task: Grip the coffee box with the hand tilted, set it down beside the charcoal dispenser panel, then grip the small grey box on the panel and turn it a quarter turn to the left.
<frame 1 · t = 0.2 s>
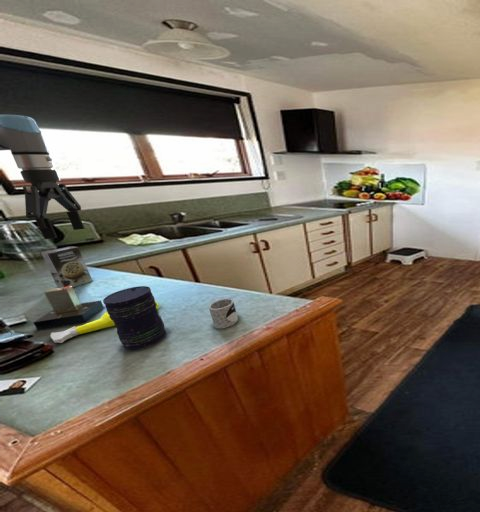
hand: (66, 233, 94), 27 cm above the counter, tool pointing down, fingers open, 13 cm apart
small grey box: (63, 299, 89), point 7 cm above the counter, hinge at 0.0°
mug: (228, 319, 87), on the counter
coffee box: (76, 284, 118), on the counter
dispenser panel: (73, 318, 91), on the counter
yellow flared piece: (110, 322, 88), on the counter
storage jar: (146, 340, 79), on the counter
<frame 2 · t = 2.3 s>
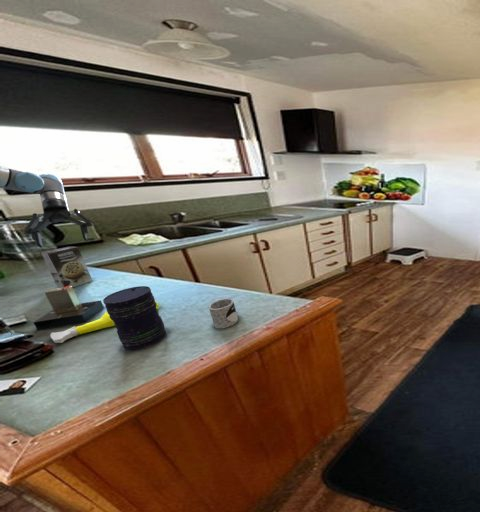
hand: (63, 242, 119), 17 cm above the counter, tool tilted 45°, fingers open, 13 cm apart
nothing on the counter moved.
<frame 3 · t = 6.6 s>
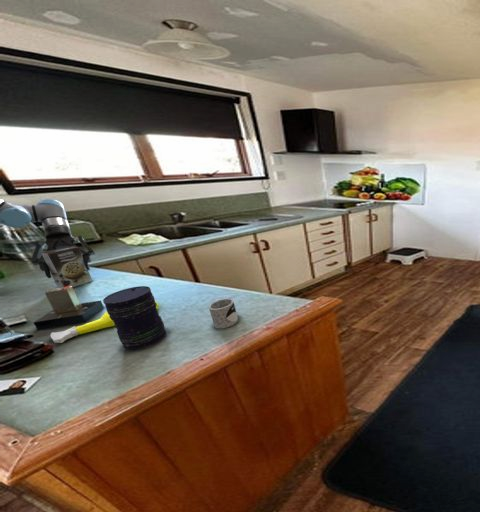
hand: (68, 272, 114), 7 cm above the counter, tool tilted 45°, fingers closed on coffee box, 10 cm apart
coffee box: (76, 284, 118), on the counter, touching gripper
everything else where it was.
when the fingers open (7 cm above the counter, at t = 16.2 s): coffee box stays where it is, on the counter.
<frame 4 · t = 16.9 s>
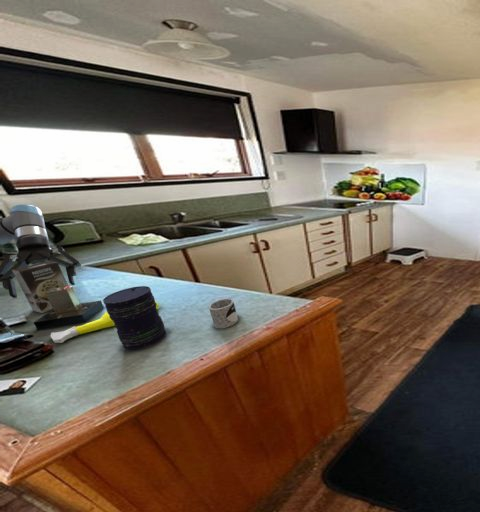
hand: (44, 289, 96), 8 cm above the counter, tool tilted 45°, fingers open, 13 cm apart
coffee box: (55, 306, 100), on the counter
everything else where it was.
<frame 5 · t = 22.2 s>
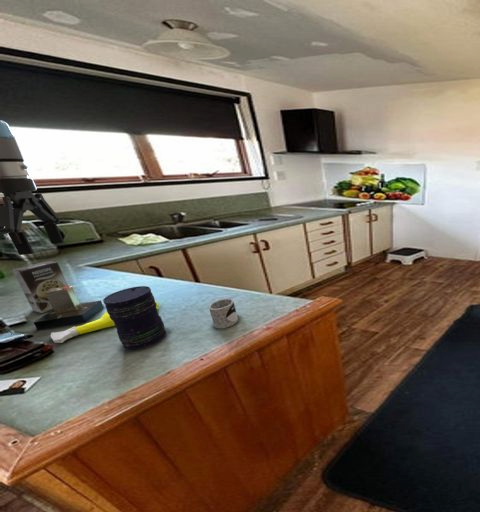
hand: (43, 248, 85), 24 cm above the counter, tool pointing down, fingers open, 13 cm apart
nothing on the counter moved.
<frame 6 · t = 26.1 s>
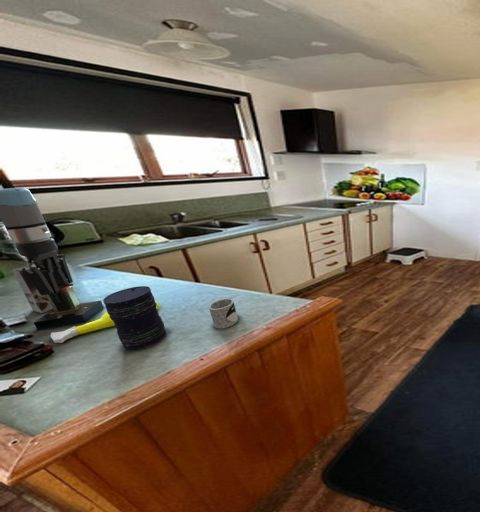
hand: (67, 307, 90), 4 cm above the counter, tool pointing down, fingers closed on small grey box, 2 cm apart
small grey box: (63, 299, 89), point 7 cm above the counter, hinge at 0.6°, touching gripper
everything else where it was.
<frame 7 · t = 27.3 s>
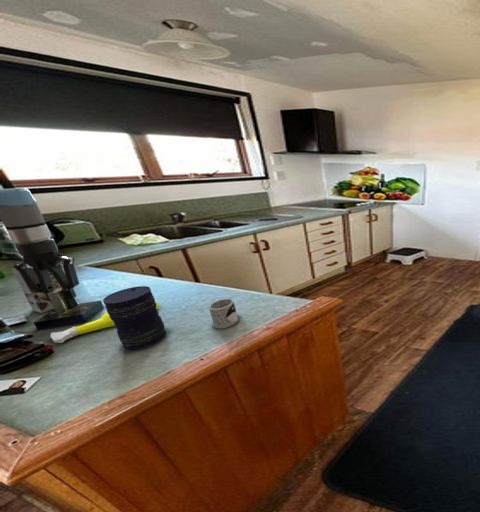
hand: (67, 308, 90), 4 cm above the counter, tool pointing down, fingers closed on small grey box, 2 cm apart
small grey box: (63, 299, 89), point 7 cm above the counter, hinge at 89.9°, touching gripper
everything else where it was.
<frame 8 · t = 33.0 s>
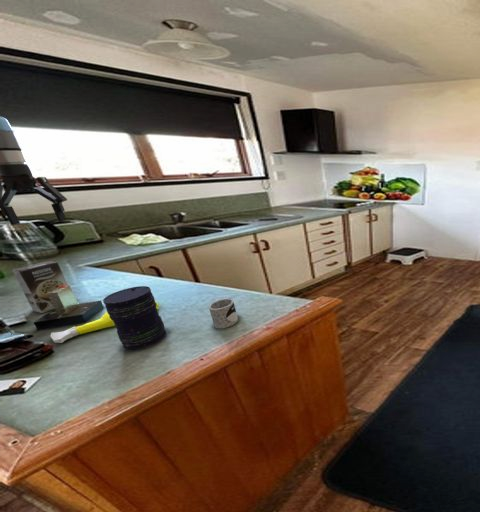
hand: (39, 222, 104), 29 cm above the counter, tool pointing down, fingers open, 13 cm apart
small grey box: (63, 299, 89), point 7 cm above the counter, hinge at 89.9°
everything else where it was.
at the end: small grey box at +90° (first picture: +0°); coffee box 0.1 cm from the target spot on the counter beside the dispenser panel, on the counter; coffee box tilted 0° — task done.
